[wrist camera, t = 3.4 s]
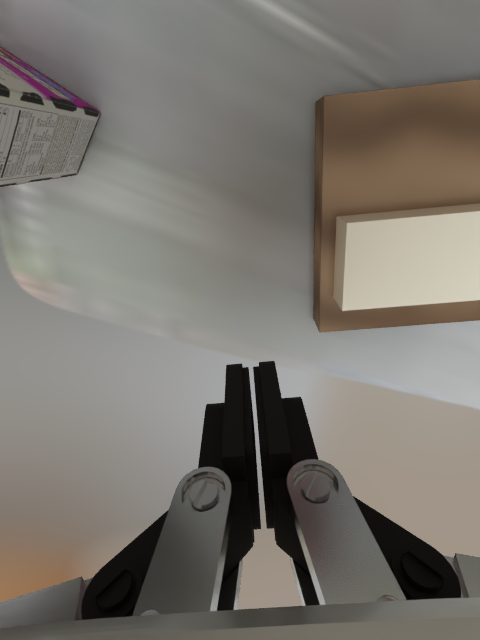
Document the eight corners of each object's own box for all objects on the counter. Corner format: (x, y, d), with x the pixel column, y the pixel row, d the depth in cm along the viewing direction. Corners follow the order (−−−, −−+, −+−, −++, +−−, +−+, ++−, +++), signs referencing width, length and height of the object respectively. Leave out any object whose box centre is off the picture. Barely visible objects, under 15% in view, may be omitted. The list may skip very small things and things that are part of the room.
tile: (336, 216, 22) (347, 223, 20) (517, 199, 22) (548, 204, 20) (333, 297, 25) (342, 310, 23) (494, 283, 25) (519, 296, 22)
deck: (315, 101, 22) (324, 96, 19) (535, 78, 21) (570, 69, 19) (313, 318, 29) (319, 332, 27) (477, 305, 28) (498, 318, 26)
